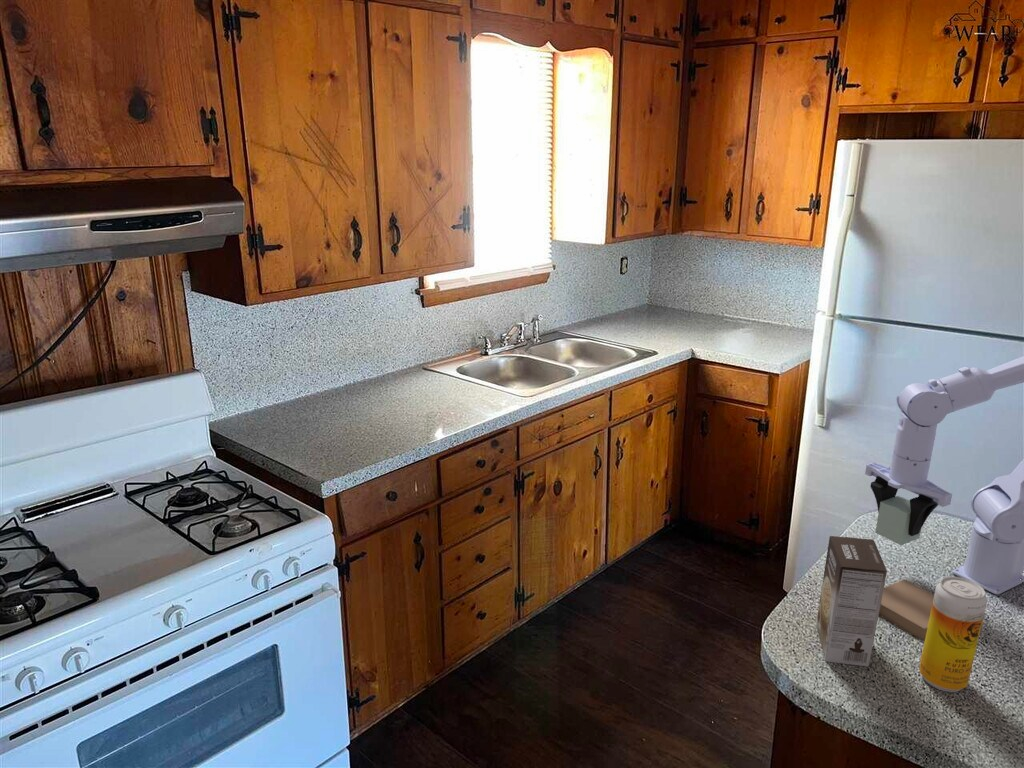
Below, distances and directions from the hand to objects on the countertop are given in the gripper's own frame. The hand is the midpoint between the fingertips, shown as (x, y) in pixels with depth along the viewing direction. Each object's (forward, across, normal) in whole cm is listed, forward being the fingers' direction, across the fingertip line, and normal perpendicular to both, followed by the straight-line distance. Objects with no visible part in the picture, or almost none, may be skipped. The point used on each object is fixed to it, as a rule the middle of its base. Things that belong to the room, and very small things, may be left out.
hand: (898, 526), depth 133 cm
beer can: (+9, +22, -20) cm, 31 cm away
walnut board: (+9, +10, -9) cm, 16 cm away
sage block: (+2, 0, 0) cm, 2 cm away
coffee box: (+9, +10, -26) cm, 29 cm away
